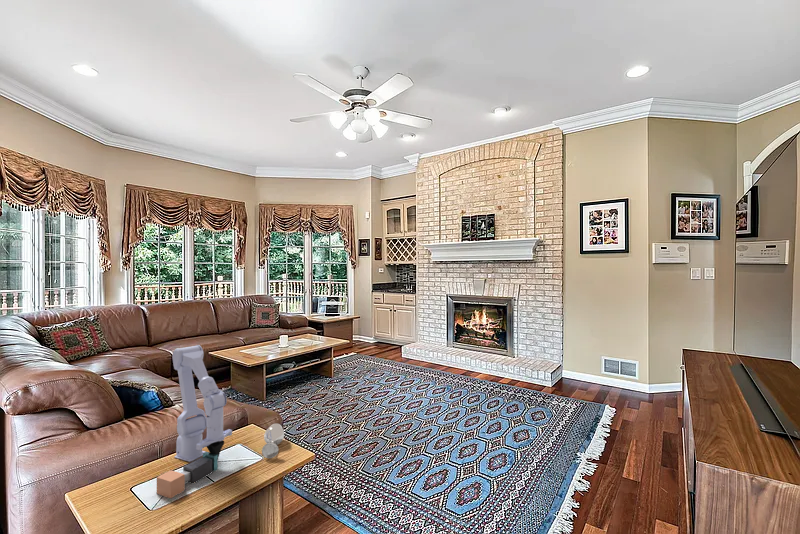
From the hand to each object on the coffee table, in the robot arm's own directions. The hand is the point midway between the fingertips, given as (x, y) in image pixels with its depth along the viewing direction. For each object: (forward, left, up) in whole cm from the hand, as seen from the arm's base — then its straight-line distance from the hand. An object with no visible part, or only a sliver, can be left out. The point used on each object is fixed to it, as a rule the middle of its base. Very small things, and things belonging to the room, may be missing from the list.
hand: (214, 461), depth 145 cm
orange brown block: (0, -18, -2) cm, 18 cm away
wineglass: (+15, +13, +1) cm, 20 cm away
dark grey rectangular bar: (0, -7, -2) cm, 8 cm away
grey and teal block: (0, -10, -2) cm, 10 cm away
